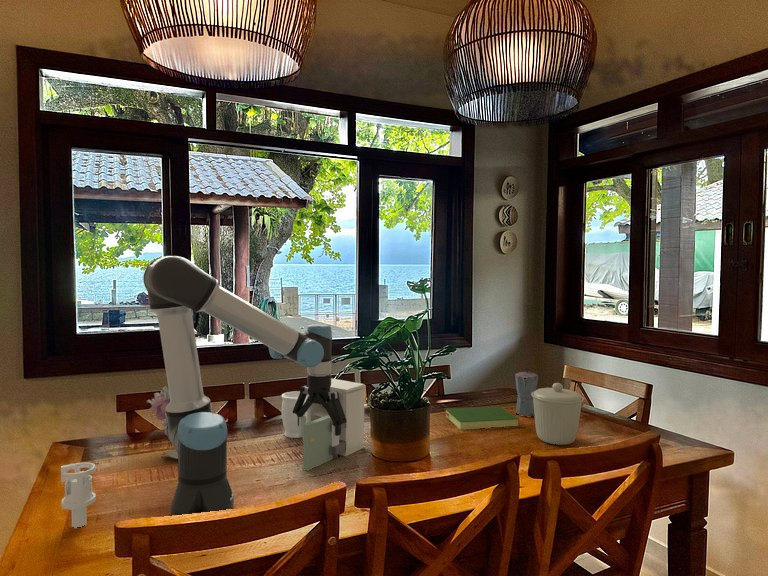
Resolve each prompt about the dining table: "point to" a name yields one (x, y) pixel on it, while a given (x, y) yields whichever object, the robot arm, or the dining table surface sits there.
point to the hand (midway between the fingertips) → (318, 440)
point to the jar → (290, 414)
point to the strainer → (78, 491)
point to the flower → (162, 412)
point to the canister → (557, 414)
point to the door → (317, 442)
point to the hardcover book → (480, 417)
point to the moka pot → (525, 392)
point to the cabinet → (354, 413)
